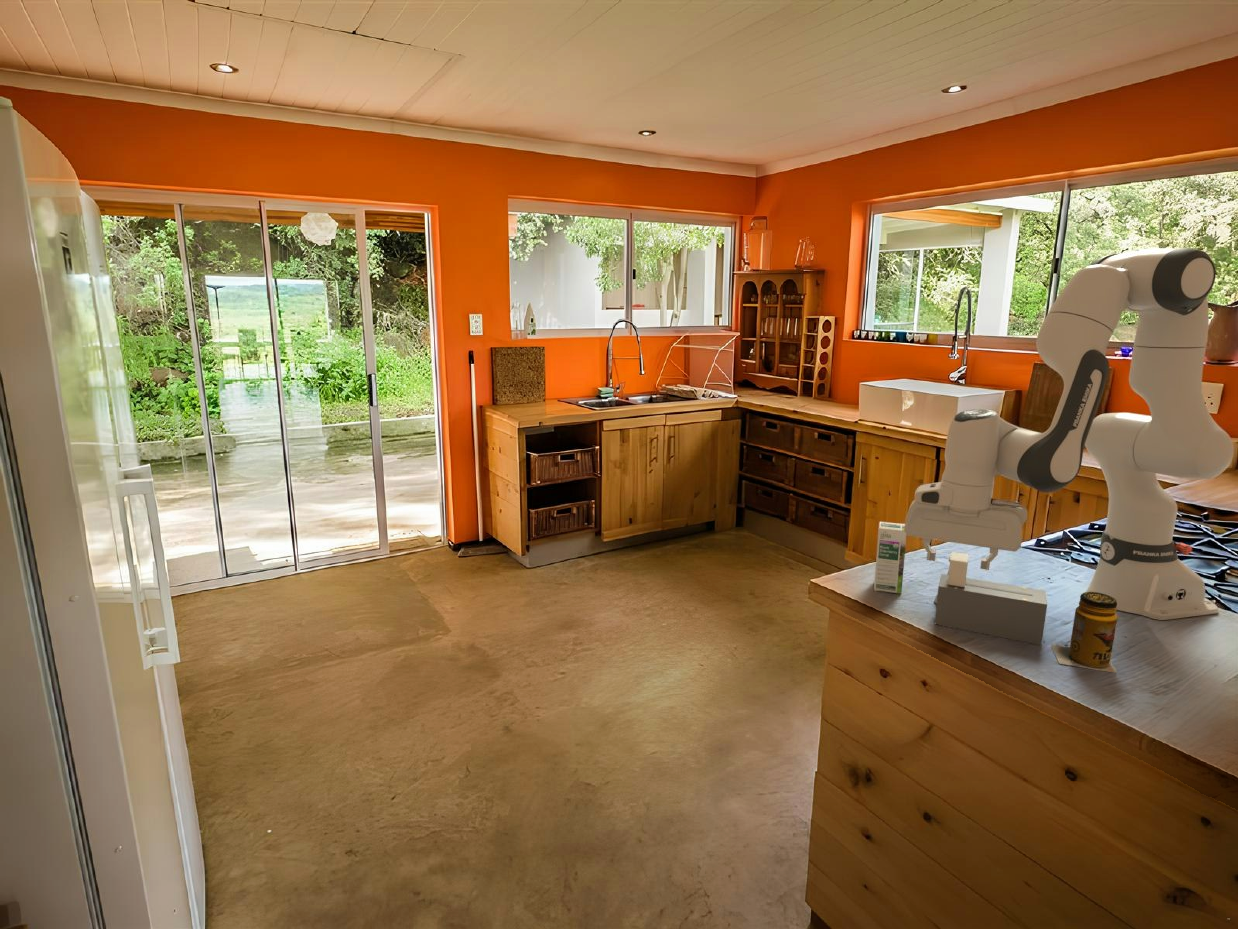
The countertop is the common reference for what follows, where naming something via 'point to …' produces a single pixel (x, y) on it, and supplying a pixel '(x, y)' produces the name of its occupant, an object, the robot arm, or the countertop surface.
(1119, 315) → the robot arm
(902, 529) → the syrup box
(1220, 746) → the countertop surface
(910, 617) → the countertop surface
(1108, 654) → the condiment
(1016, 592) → the console
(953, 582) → the fader
